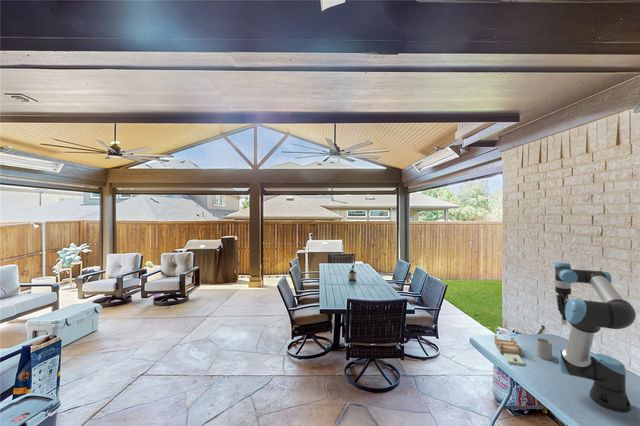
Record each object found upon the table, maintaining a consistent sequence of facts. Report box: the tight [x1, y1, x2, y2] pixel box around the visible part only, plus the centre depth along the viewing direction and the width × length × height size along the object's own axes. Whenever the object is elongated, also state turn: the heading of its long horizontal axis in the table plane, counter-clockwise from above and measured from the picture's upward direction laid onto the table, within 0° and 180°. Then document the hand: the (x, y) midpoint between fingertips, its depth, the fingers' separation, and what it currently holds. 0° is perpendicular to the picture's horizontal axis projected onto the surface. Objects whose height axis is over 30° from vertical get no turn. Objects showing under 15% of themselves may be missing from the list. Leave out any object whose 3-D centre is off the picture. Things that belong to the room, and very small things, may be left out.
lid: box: [502, 352, 525, 367], centre depth 189 cm, size 12×9×3 cm
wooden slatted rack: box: [494, 335, 522, 358], centre depth 202 cm, size 16×12×6 cm
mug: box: [535, 337, 553, 361], centre depth 193 cm, size 12×8×11 cm
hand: (563, 324), depth 175 cm, fingers closed
